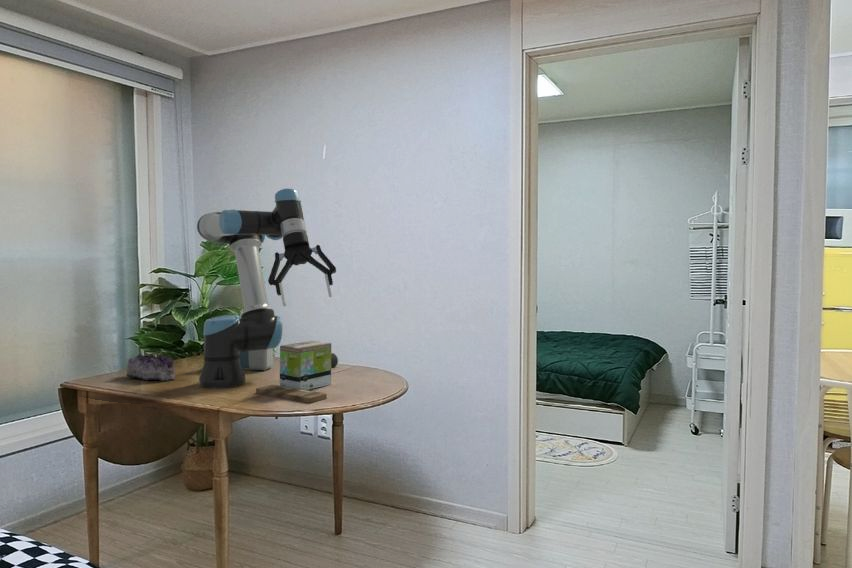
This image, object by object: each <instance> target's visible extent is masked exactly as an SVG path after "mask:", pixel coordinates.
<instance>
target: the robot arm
mask: <svg viewBox="0 0 852 568" xmlns="http://www.w3.org/2000/svg"><path fill="white" fill-rule="evenodd" d="M274 203H275V207H274V209H273V210H272V211H268V210H267V211H263V210H259V211H258V210H244V209H243V210H242V209H240V210H237V209H224V210H222V211H215V212H209V213H206V214H204V215H202V216H201V217H200V218H199V219H198V221H197V224H196V230H197V232H198V234H199V235H200V237H201V238H202V239H204V240H206V241H208V242H210V243H215V244H229V245H228V246H229V249H230V250H229V251H231V252H232V253H234V255H235V261H236V266H237V267H236V268H237V273H238V280H239V285H240V291H241V297H242V305H243V310H244V311H243V312H242V313H241V314H240V316H239V314H225V315H224V314H223V315H219V316H214V317H210V318H208V319H206V321H204V324H203V332H202V334H203V356H204V357H203V361H204V362H203V365H202V368H201V372H200V376H199V378H198V386H200V387H202V388H211V389H221V388H222V389H223V388H231V387H236V386H241V385H243V384H246V374H245V373H244V369H243V368H242V365H241V363H240V352H242V351H253V350H267V349H272V348H273V349H275V348H277V347H278V346H279V345H280V343H281V340H282V337H283V331H284V329H283V328H284V326H283V321H282V317H280V316H278V315H275V310H274V309H273V308H271V307H270V306H269V301H268V295H267V291H266V290H267V289H266V285H265V279H264V273H263V272H264V271H263V267H262V262H261V257H260V256H261V255H260V252H259V250H260V248H261V247H262V244H263V243H264V242H265V238H267V239H270V240H272V241H279V240H281V239H282V242H283V248H284V252H283V253H282V252H281V253H279V252H278V251H277V252H275V253H274V261H273V265H272V268H271V271H270V274H269V277H268V280H267V281H268V285H269V286H275V291H276V294H277V296H280V297H281V302H282V305H283V307H287V302H286V297H285V291H284V287H283V283H282V282H283V280H284V279H285V277H286V276H287V274H288V272H289V271H290V269H291V268H292V267H293V266H300V265H305V264H307V263H309V264H310V265H312V266H314V267H315V268H316V269H318V270H319V271H321V272H322V273H323V274H324V279H325V284H326V289H327V292H328V293H327V294H328V297H329V298H331V297H332V290H331V286H333V285H334V282H333V277H332V275H333V274H336V272H337V267H336V266H335V265H334V264H333V262H332V261H331V260H330V259H329V258H328V256H326V254H325V253H324V252H323V251H322V248H321V246H320V245H319V244H316V245H315V246H314V247H311V246H310V241H309V237H308V234H307V233H308V232H307V228H306V222H305V219H304V217H305V216H304V213H303V207H302V200H301V199H300V195H299V192H298V191H297V190H296V189H294V188H282V189H280V190H278V191H277V192H276V193H275V194H274ZM313 253H314V254H315V255H318V257H319V259H320V260H321V261H322V262H323V263H324V264H325V265H326V266H327V267H326V266H324V265H323V264H322V263H321V262H320V261H319V260H316V259H315V258H314V257H313V256H312V254H313ZM284 258H285V259H286V261H285V264H284V266H283V267H282V269H281V270H280V272H279V273H278V271H279V267H280V264H281V262H282V261H283V259H284ZM277 274H278V275H277Z"/></svg>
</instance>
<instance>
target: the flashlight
mask: <svg viewBox="0 0 852 568" xmlns="http://www.w3.org/2000/svg"><path fill="white" fill-rule="evenodd" d="M338 364H339V357H338V355H337V354H336V353H334V352H333V353H332V352H331V368H334V367H337V365H338Z"/></svg>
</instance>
